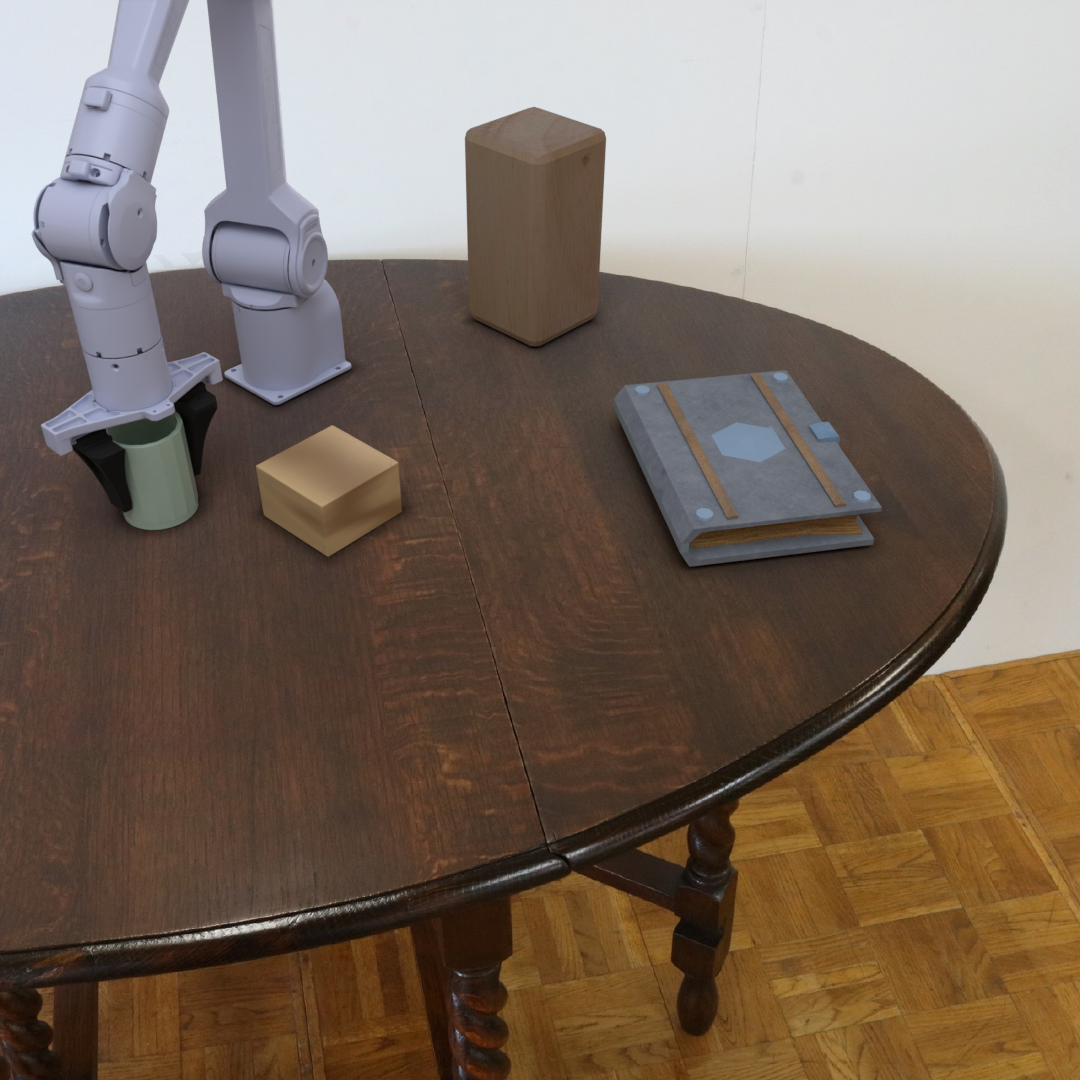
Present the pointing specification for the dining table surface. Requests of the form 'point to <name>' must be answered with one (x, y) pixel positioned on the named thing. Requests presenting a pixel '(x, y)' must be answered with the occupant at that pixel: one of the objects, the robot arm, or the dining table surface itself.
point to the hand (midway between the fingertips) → (156, 488)
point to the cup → (157, 472)
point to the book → (744, 467)
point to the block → (330, 489)
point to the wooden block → (534, 223)
